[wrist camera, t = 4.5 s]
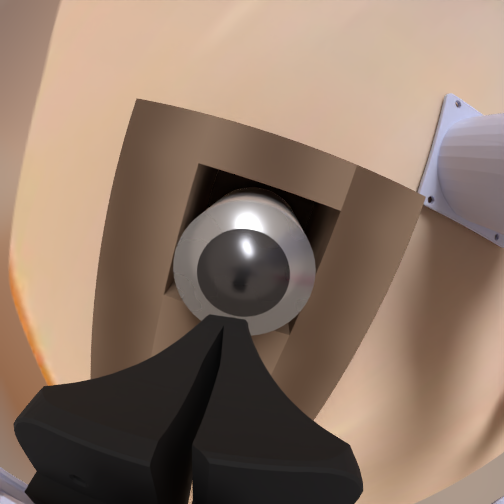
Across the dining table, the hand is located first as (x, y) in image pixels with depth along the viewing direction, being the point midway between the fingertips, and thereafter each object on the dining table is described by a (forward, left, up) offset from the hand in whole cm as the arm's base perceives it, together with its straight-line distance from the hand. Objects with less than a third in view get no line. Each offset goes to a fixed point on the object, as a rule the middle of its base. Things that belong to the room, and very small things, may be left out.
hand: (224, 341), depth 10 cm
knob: (0, -2, -7) cm, 7 cm away
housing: (0, +4, -9) cm, 10 cm away
